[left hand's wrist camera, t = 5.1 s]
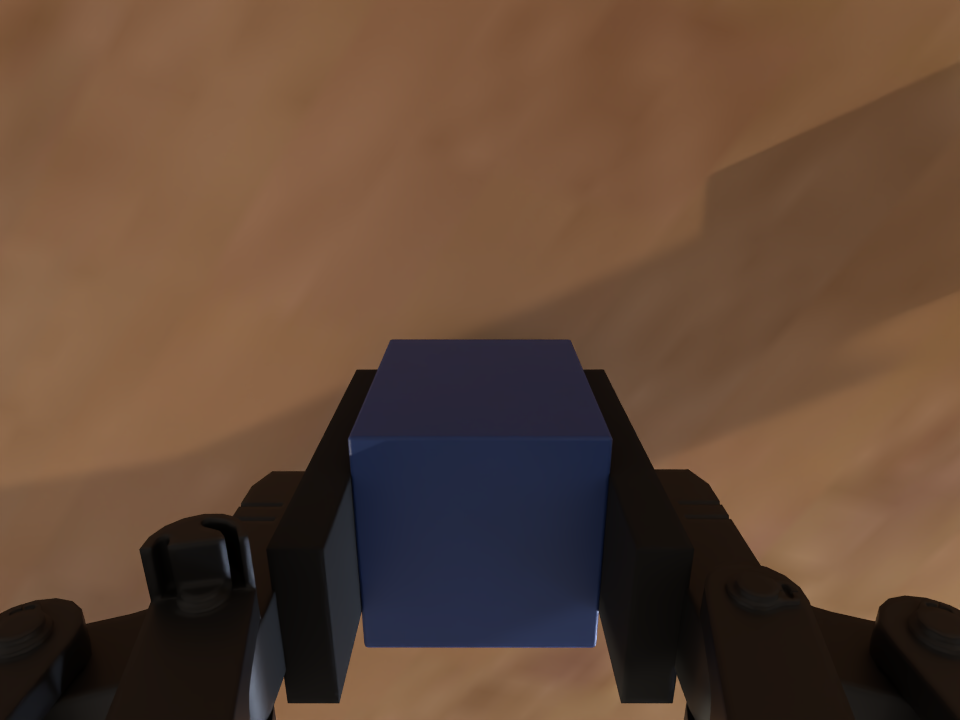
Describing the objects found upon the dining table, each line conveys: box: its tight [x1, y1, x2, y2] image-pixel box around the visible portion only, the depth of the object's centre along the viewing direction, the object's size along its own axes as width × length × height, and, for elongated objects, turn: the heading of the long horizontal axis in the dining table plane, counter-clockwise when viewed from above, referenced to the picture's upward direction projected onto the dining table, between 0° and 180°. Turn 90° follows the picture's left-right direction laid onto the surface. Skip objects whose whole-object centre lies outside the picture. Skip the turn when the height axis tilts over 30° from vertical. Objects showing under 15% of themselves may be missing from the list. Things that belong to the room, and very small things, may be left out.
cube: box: [348, 340, 613, 647], centre depth 13 cm, size 4×4×5 cm
